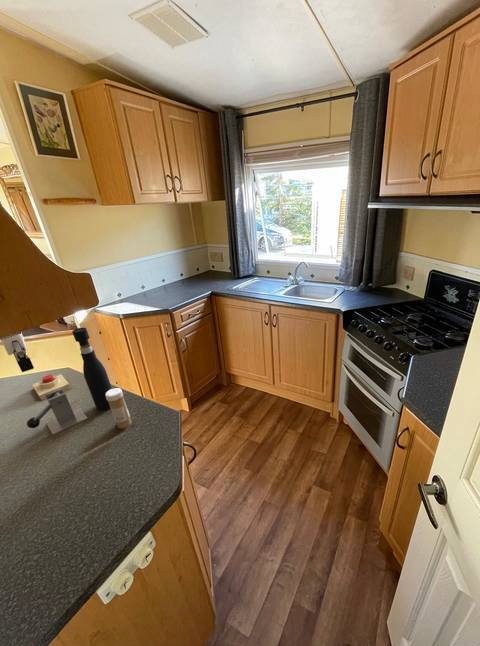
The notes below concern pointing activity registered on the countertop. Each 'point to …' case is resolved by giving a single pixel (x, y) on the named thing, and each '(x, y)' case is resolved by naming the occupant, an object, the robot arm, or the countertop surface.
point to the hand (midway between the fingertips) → (25, 365)
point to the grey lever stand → (63, 412)
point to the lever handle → (36, 421)
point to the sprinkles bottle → (118, 407)
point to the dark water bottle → (93, 371)
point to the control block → (51, 386)
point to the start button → (48, 379)
